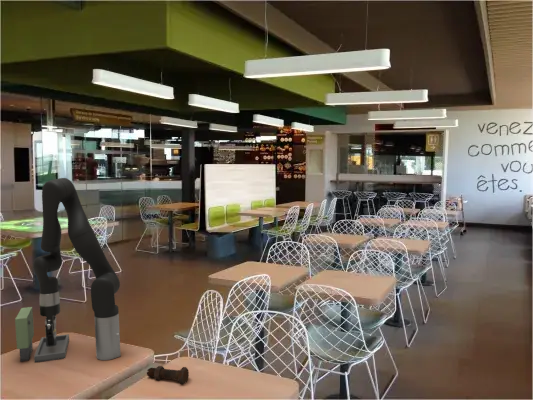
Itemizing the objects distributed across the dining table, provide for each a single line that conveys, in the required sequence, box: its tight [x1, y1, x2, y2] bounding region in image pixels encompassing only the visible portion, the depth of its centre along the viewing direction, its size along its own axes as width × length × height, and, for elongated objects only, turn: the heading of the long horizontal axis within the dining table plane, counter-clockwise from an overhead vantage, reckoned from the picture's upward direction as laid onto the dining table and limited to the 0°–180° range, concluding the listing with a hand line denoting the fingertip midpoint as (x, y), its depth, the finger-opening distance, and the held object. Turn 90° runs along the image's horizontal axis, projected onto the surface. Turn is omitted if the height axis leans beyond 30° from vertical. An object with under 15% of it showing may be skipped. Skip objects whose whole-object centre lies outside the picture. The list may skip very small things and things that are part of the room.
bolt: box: [146, 365, 190, 385], centre depth 166 cm, size 6×5×15 cm
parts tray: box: [33, 334, 70, 363], centre depth 192 cm, size 11×20×2 cm, turn 19°
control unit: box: [14, 306, 35, 363], centre depth 186 cm, size 5×14×18 cm, turn 19°
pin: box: [44, 326, 57, 347], centre depth 191 cm, size 4×4×7 cm
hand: (51, 342), depth 191 cm, fingers closed on pin, 4 cm apart
